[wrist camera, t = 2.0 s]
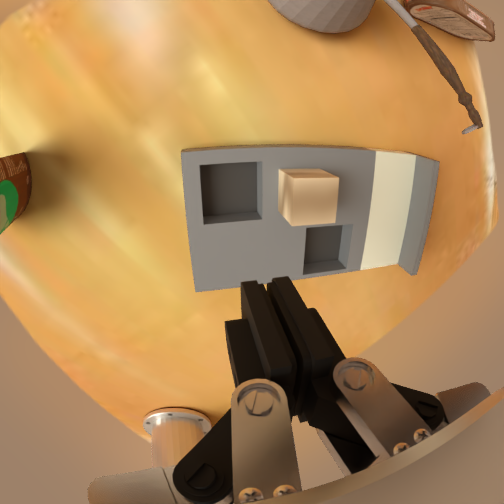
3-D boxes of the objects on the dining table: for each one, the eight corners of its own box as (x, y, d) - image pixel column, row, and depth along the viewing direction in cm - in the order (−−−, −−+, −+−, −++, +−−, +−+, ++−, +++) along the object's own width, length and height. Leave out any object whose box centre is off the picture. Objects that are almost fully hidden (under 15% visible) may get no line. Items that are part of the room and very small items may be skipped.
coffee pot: (231, -30, 17) (270, -119, 3) (321, -50, 16) (397, -107, 3) (333, 137, 27) (440, 167, 14) (406, 100, 26) (511, 115, 13)
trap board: (392, 254, 36) (416, 274, 31) (194, 279, 31) (196, 310, 26) (408, 152, 29) (439, 161, 24) (181, 149, 25) (179, 157, 20)
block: (316, 208, 27) (335, 222, 24) (278, 210, 27) (292, 226, 23) (319, 168, 25) (339, 177, 22) (278, 168, 25) (293, 178, 21)
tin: (461, 27, 21) (503, 26, 14) (464, 45, 23) (507, 45, 15) (388, -7, 19) (434, -23, 12) (391, 13, 21) (440, 0, 13)
